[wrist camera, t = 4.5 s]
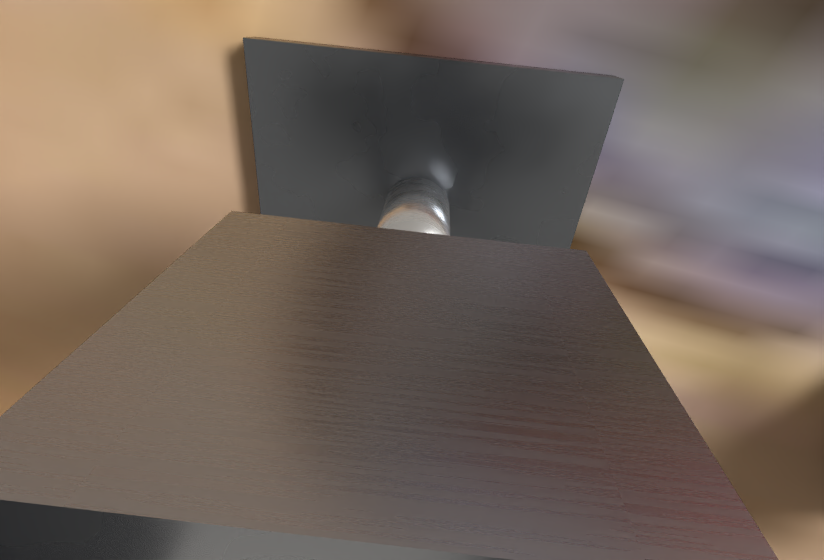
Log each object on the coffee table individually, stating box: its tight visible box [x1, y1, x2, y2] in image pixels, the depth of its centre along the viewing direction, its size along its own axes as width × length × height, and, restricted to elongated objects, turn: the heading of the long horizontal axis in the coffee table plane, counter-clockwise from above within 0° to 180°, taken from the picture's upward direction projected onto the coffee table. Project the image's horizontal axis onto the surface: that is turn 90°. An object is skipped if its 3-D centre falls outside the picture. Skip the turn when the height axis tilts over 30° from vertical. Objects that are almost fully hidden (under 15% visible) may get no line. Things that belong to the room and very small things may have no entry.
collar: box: [0, 211, 778, 560], centre depth 7 cm, size 6×6×5 cm
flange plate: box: [243, 37, 624, 249], centre depth 16 cm, size 14×12×5 cm
